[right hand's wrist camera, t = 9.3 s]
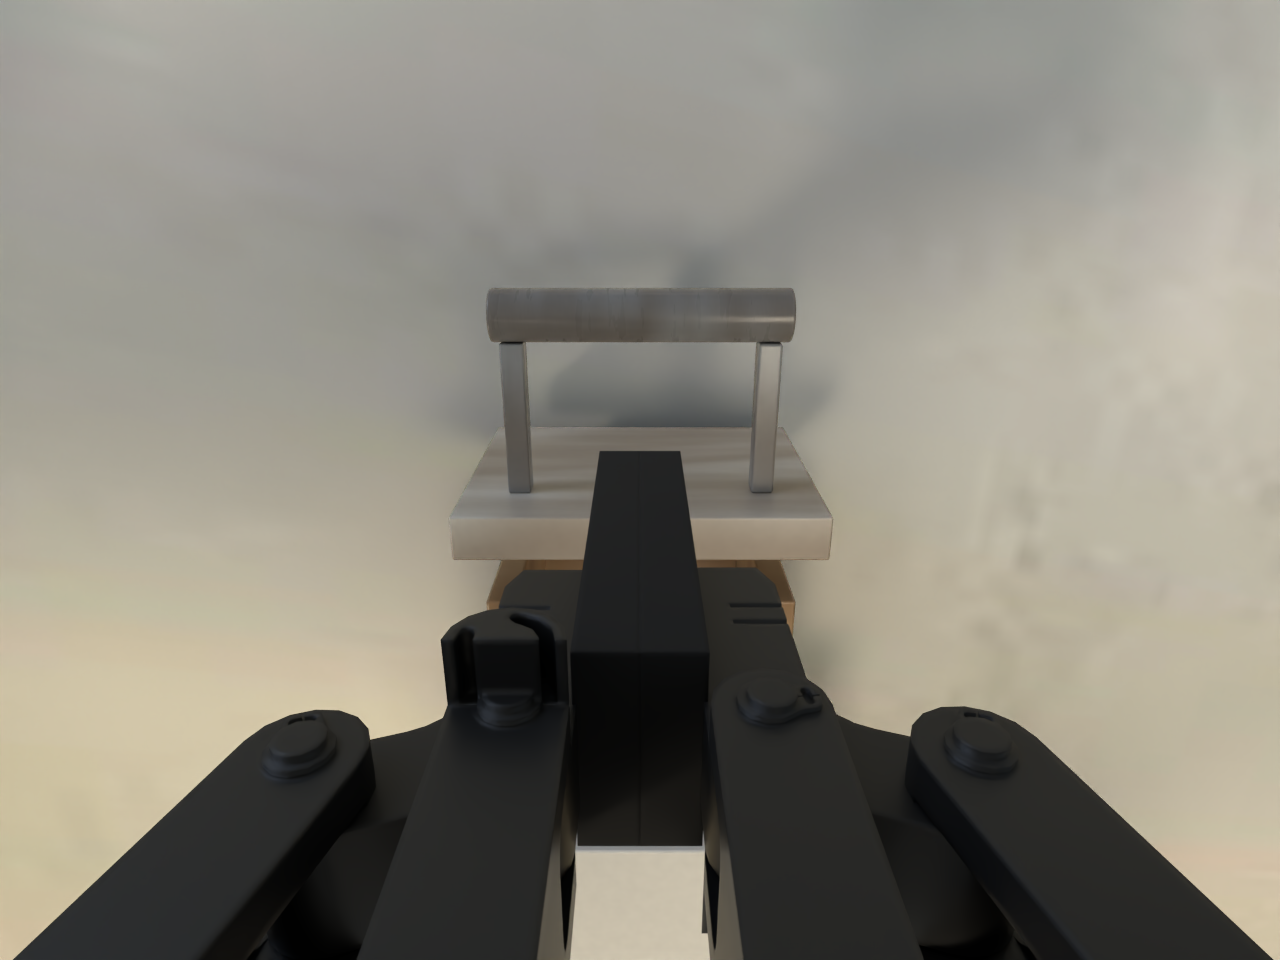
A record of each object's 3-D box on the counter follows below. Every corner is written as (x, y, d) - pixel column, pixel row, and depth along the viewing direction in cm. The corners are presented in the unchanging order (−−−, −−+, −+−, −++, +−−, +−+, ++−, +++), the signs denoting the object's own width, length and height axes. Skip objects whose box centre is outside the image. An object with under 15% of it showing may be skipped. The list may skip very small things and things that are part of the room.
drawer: (486, 263, 24) (426, 299, 18) (795, 263, 24) (856, 299, 18) (525, 818, 33) (495, 991, 26) (755, 818, 33) (786, 991, 26)
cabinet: (504, 662, 31) (452, 851, 22) (777, 662, 31) (830, 851, 22) (528, 982, 38) (495, 1221, 29) (752, 982, 38) (785, 1221, 29)
